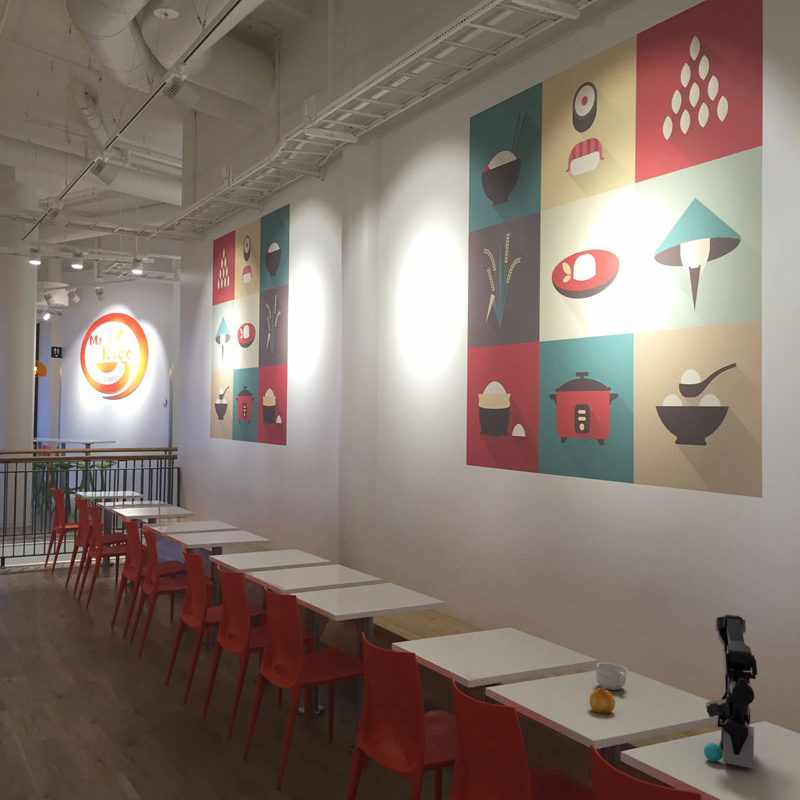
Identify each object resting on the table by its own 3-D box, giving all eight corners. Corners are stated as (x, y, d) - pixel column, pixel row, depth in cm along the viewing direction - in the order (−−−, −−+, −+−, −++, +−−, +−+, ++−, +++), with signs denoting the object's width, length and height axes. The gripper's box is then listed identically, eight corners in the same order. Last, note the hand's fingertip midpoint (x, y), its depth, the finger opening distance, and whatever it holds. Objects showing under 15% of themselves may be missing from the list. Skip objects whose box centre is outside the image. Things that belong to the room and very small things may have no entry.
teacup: (591, 683, 297) (592, 661, 297) (619, 683, 298) (620, 661, 298) (605, 695, 283) (606, 672, 283) (634, 695, 284) (635, 673, 284)
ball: (725, 756, 228) (707, 758, 230) (719, 738, 229) (701, 741, 231) (724, 763, 224) (706, 765, 225) (718, 745, 224) (700, 747, 226)
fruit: (594, 709, 260) (604, 687, 262) (581, 703, 267) (591, 681, 270) (612, 721, 261) (623, 699, 264) (599, 715, 269) (609, 693, 271)
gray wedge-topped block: (724, 753, 229) (725, 722, 230) (753, 758, 226) (754, 727, 226) (722, 762, 222) (723, 730, 223) (752, 768, 219) (753, 736, 220)
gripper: (710, 680, 237) (709, 733, 236) (705, 698, 220) (703, 755, 220) (751, 687, 232) (750, 741, 232) (748, 705, 216) (747, 763, 215)
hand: (737, 749), depth 225 cm, fingers closed on gray wedge-topped block, 8 cm apart
